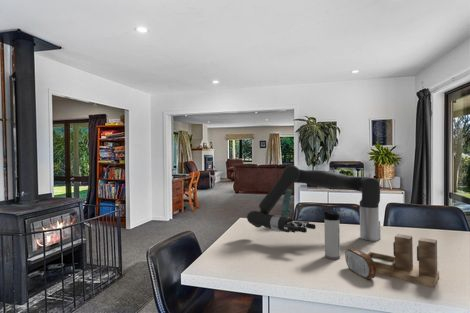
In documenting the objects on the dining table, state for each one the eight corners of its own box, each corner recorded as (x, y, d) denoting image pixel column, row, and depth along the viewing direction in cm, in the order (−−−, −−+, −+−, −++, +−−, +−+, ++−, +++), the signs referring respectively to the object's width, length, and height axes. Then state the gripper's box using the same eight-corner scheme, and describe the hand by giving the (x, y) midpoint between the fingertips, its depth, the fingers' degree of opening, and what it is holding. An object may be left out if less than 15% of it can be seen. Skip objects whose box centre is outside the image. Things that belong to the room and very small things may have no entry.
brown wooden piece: (361, 268, 110) (360, 233, 110) (370, 261, 118) (369, 227, 118) (434, 287, 94) (433, 245, 94) (439, 276, 102) (438, 238, 102)
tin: (377, 282, 98) (376, 258, 98) (369, 283, 97) (369, 258, 97) (350, 266, 113) (350, 245, 113) (343, 267, 112) (343, 245, 112)
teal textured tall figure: (289, 232, 172) (302, 193, 173) (273, 225, 174) (286, 187, 175) (289, 229, 186) (301, 193, 187) (274, 223, 188) (286, 188, 189)
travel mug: (321, 255, 126) (321, 210, 126) (336, 254, 127) (335, 210, 127) (327, 259, 120) (327, 213, 120) (342, 259, 120) (341, 212, 121)
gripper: (273, 218, 136) (303, 223, 125) (288, 214, 146) (317, 218, 135) (273, 233, 136) (303, 239, 125) (289, 228, 146) (318, 233, 135)
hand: (310, 228), depth 130 cm, fingers open, 8 cm apart
